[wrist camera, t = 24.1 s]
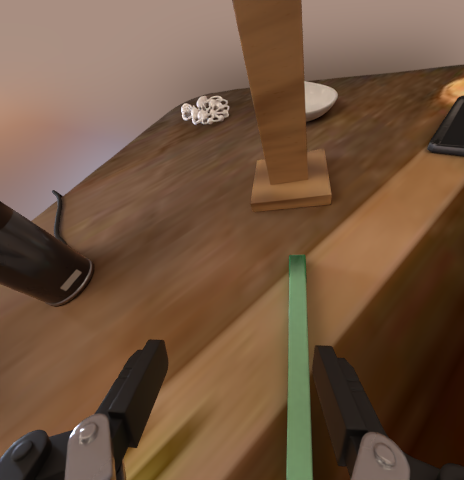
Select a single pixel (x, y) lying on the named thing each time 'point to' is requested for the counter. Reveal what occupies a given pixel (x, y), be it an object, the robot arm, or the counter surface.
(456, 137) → the phone
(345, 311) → the counter surface
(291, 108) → the wooden pedestal stand
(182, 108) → the tangled rod sculpture
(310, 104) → the spoon rest
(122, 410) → the robot arm
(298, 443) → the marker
